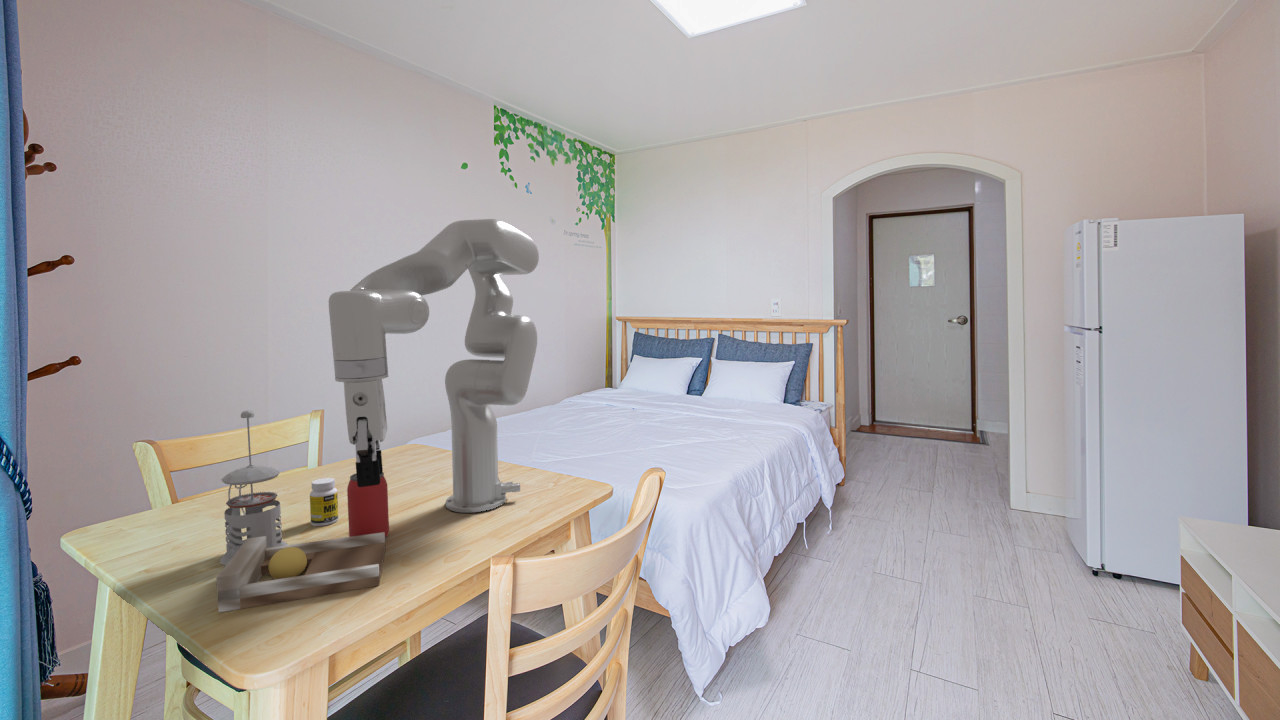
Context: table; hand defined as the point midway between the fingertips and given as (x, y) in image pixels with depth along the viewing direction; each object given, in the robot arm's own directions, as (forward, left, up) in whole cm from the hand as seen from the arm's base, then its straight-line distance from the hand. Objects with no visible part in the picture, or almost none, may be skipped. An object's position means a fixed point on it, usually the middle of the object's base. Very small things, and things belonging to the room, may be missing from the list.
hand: (370, 478), depth 87 cm
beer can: (+2, -12, -15) cm, 19 cm away
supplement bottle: (+11, -24, -15) cm, 30 cm away
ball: (+12, +1, -12) cm, 17 cm away
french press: (+20, -13, -15) cm, 28 cm away
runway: (+9, +1, -15) cm, 17 cm away
